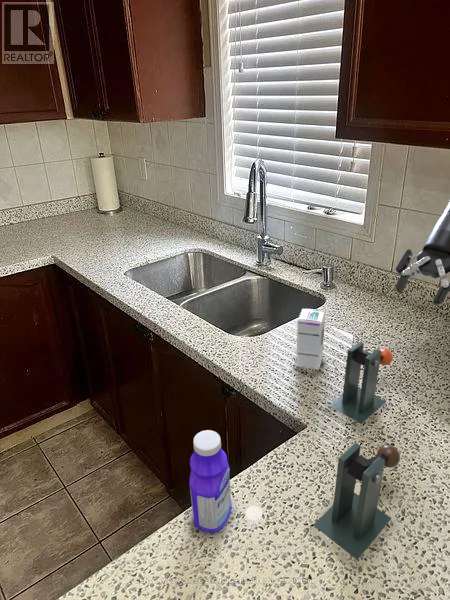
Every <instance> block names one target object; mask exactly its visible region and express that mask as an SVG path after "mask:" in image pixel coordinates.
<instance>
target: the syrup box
mask: <svg viewBox="0 0 450 600" xmlns="http://www.w3.org/2000/svg"><path fill="white" fill-rule="evenodd" d="M325 322H326V311H325V310H322V309H321V310H320V309H316V308H315V309H313V308H302V309H301V310H300V313H299V315H298V318H297V329H296V358H295V366H296V367H297V368H303V369H310V370H317V371H319V370H320V369H321V366H322V363H323V362H322V361H323V357H324V356H323V355H324V339H325V324H326V323H325Z"/></svg>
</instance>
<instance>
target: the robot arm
mask: <svg viewBox="0 0 450 600" xmlns="http://www.w3.org/2000/svg"><path fill="white" fill-rule="evenodd" d="M414 260H416V261H417V262H415V263H413V264H411V263H412V262H414ZM410 264H411V265H410ZM409 265H410V266H409ZM395 271H396V273H397V275H398V276H400V277H399V279H398V280H397V282H396V284H395V290H396V292H397V294H401V295H402V294H403V292H404V290H405V288H406V286H407V285H408V282H409V280H410V279H412V278H413V277H417V276H420V275H421V274H422V275H423V276H426V277H430V278H433V279H438V278H439V279H440V282H441V285H442V286H440V287H439V288H438V291H437V293H436V294H435V296H434V298H433V300H432V303H433V305H434V306H436V307H439V305H442V304H443V303H444V301H445V299H446V297H447V296H448V294H449V293H450V283H449V279H448V276H447V274H448V273H450V199H449V200H448V202H447V205H446V206H445V208H444V210H443V212H442V214H441V215H440V217H439V218H438V219H437V221H436V223H435V224H434V227H433V228H432V230H431V232H430V234H429V236H428V238H427V239H426V241H425V244H424V245H423V247H422V250H421V251H420V252H419V253H416V252H413V251H412V250H411V249H410V248H409V249H407V250H405V252H404V253H403V255H402V257H401V259H400V260H399V261H398V263H397V265H396V267H395Z"/></svg>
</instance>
